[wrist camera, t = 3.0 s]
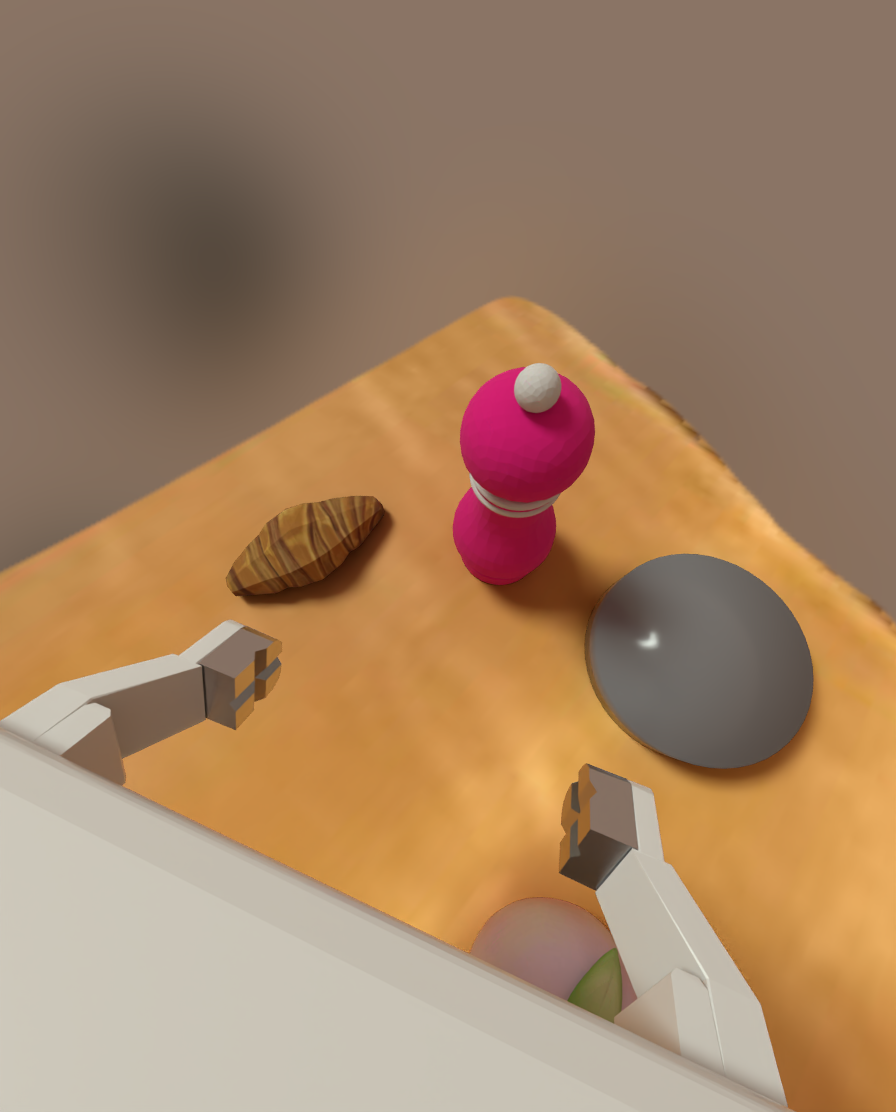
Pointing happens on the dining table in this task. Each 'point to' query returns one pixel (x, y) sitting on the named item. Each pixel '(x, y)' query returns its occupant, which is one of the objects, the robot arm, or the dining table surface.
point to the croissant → (303, 544)
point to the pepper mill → (518, 469)
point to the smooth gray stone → (699, 661)
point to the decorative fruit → (558, 953)
